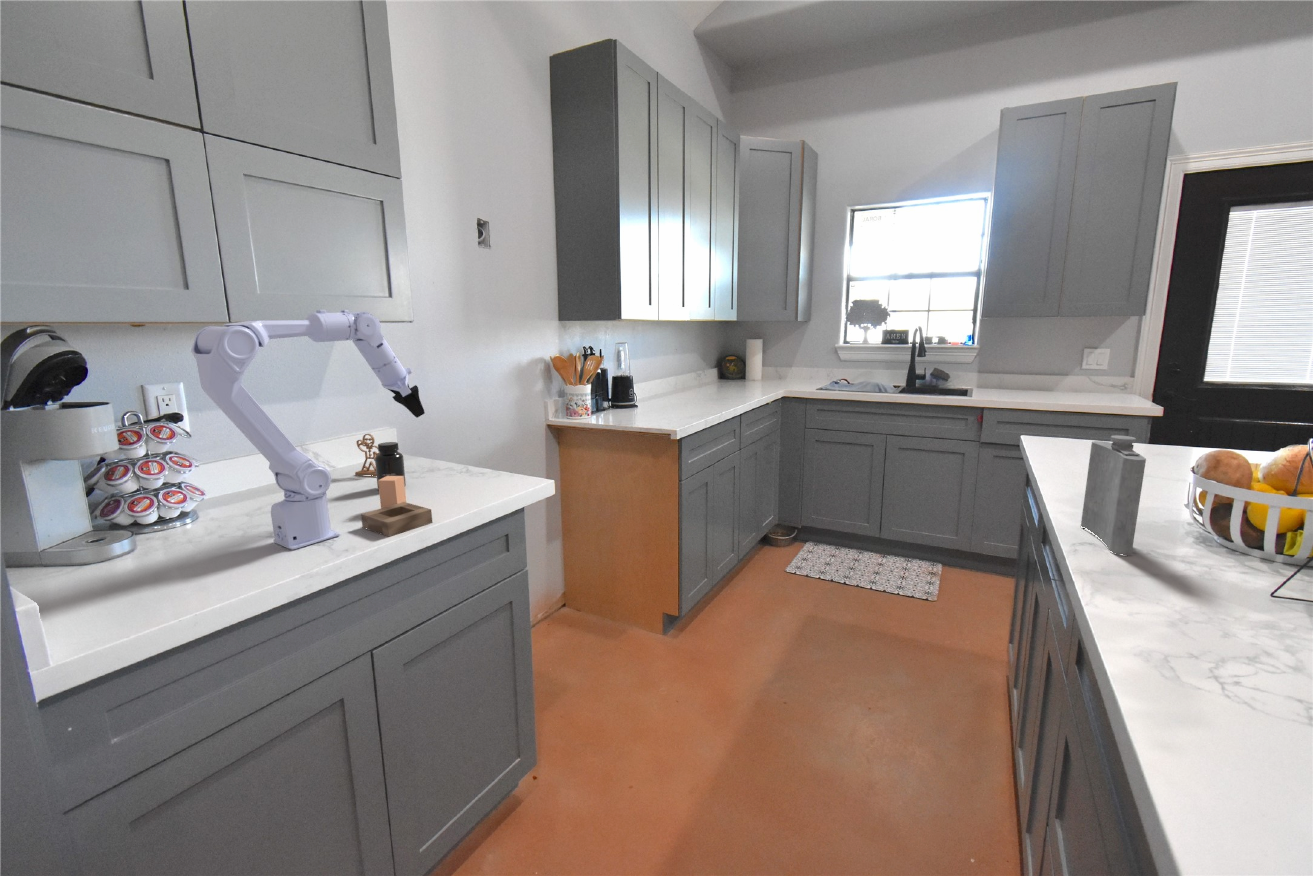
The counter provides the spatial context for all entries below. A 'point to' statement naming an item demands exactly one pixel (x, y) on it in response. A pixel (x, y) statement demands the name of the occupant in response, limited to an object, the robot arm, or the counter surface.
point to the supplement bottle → (389, 461)
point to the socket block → (396, 518)
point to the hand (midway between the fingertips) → (415, 409)
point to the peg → (391, 490)
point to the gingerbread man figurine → (366, 470)
